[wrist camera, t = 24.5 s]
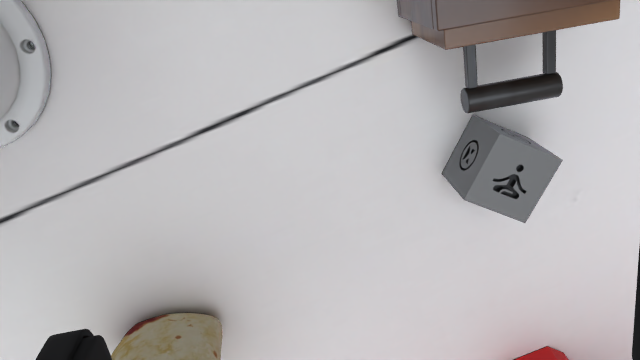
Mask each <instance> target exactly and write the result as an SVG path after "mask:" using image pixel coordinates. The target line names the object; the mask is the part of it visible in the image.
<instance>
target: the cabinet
mask: <svg viewBox="0 0 640 360" xmlns="http://www.w3.org/2000/svg"><path fill="white" fill-rule="evenodd" d="M606 1H611V0H397V5H398V15H399V17H402V18H405V19H407V20H410V21H413V22H415V23H418V24H421V25H423V26H426V27H429V28H431V29H434V30H437V31H443V30H448V29H454V28H460V27H465V26H471V25H477V24H482V23H488V22H493V21H499V20H505V19H510V18H516V17H521V16H527V15H533V14H538V13H544V12H549V11H555V10H561V9H566V8H572V7H578V6H583V5H589V4H594V3H600V2H606Z"/></svg>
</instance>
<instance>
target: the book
mask: <svg viewBox="0 0 640 360" xmlns="http://www.w3.org/2000/svg"><path fill="white" fill-rule="evenodd" d="M514 360H569V359H568V358H567V357H566V356H565V354H564V353H563V352H560V351H558V350H556V349H553V348H551V347H548V346H547V347H544V348H542V349H539V350H537V351H534V352H532V353H529V354H527V355H524V356H522V357H519V358H517V359H514Z"/></svg>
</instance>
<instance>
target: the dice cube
mask: <svg viewBox="0 0 640 360" xmlns="http://www.w3.org/2000/svg"><path fill="white" fill-rule="evenodd" d="M562 161H563V160H562V159H560V158H559V157H557V156H556V155H554V154H553V153H551V152H550V151H548V150H546V149H545V148H543V147H542V146H540V145H539V144H537V143H536V142H534V141H533V140H531V139H530V138H527V137H525V136H523V135H520V134H518V133H516V132H513V131H511V130H509V129H506V128H504V127H502V126H499V125H497V124H494V123H492V122H490V121H487V120H485V119H483V118H480V117H478V116H476V115H472V117H471V119H470V121H469V123H468V125H467V127H466V129H465V130H464V132H463V134H462V136H461V138H460V140H459V142H458V144H457V146H456V148H455V149H454V151H453V153H452V155H451V157H450V159H449V161H448V163H447V165H446V167H445V168H444V170H443V172H442V175H443V176H444V177H445V178H446V179H447V180H448V182H449V183H450V184H451V185H452V186H453V188H454V189H455V190H456V191H457V192H458V193H459V195H460V196H461V197H462V198H463V199H464V200H466V201H468V202H471V203H474V204H476V205H479V206H482V207H484V208H487V209H489V210H492V211H495V212H497V213H500V214H502V215H505V216H508V217H510V218H513V219H516V220H518V221H521V222H523V223H526V221H527V219H528V218H529V216H530V214H531V213H532V211H533V209H534V207H535V206H536V204H537V202H538V201H539V199H540V197H541V196H542V194H543V192H544V191H545V189H546V187H547V186H548V184H549V182H550V181H551V179H552V177H553V176H554V174H555V172H556V171H557V169H558V167H559V166H560V164H561V162H562Z"/></svg>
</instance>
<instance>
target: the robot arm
mask: <svg viewBox="0 0 640 360" xmlns="http://www.w3.org/2000/svg"><path fill="white" fill-rule="evenodd" d="M30 41H32V42H33V44H34V45H35V49H33V48H31V47H30V45H29V43H30ZM50 80H51V69H50V59H49V54H48V51H47V47H46V44H45V41H44V37H43V35H42V33H41V31H40V29H39V27H38V25H37V23H36V21H35V19H34V18H33V17H32V15H31V14H30V13H29V11H28V10H27V8H26V7H25V6H24V4H23V3H22V2H21V1H20V0H0V148H2V147H4V146H6V145H8V144H10V143H12V142H13V141H15V140H16V139H18V138H19V137H20V136H22V135H23V134H24V133H25V132H26V131H27V130H28V129H29V128H30V127H31V126H32V125H33V124H34V123H35V122H36V120H37V119H38V117H39V116H40V114H41V112H42V111H43V109H44V107H45V104H46V101H47V98H48V94H49V90H50ZM14 121H16V122H17V123H18V125H19V126H17V125H15V123H14ZM632 359H633V360H640V248H639V262H638V276H637V290H636V304H635V319H634V333H633V347H632ZM36 360H112V358H111V355H110V353H109V350H108V348H107V345H106V342H105V340H104V338H103V337H102V336H100V335H97V336H93V334H92V333H91V332H90V330H88V329H82V330H77V331H71V332H66V333H61V334H56V335H52V336H50V337H49V338H48V339H47V341H46V343H45V344H44V346H43V348H42V349H41V351H40V353H39V355H38V356H37V358H36Z"/></svg>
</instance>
